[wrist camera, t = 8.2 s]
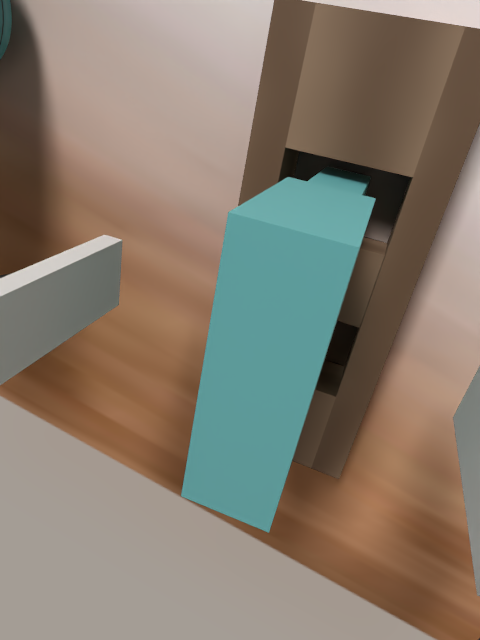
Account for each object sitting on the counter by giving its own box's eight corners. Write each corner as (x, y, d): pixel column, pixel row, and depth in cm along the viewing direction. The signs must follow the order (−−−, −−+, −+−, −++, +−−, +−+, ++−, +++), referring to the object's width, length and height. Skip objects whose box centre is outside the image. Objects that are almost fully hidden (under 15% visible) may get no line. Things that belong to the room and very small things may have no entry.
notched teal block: (274, 335, 25) (180, 496, 15) (317, 159, 21) (228, 212, 10) (327, 352, 24) (268, 532, 14) (383, 174, 20) (359, 247, 10)
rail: (219, 395, 28) (199, 424, 25) (294, 11, 19) (275, -4, 16) (346, 442, 26) (338, 479, 24) (499, 45, 17) (514, 34, 14)
